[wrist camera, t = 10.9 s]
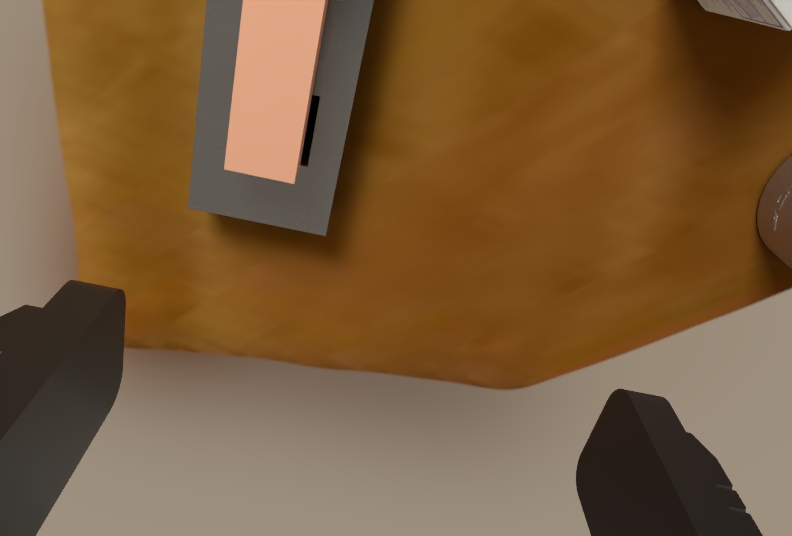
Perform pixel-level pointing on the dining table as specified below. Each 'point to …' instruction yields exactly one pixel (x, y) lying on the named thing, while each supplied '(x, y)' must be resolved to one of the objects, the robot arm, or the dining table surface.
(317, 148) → the rail
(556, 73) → the dining table surface
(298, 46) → the block
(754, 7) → the medicine box
